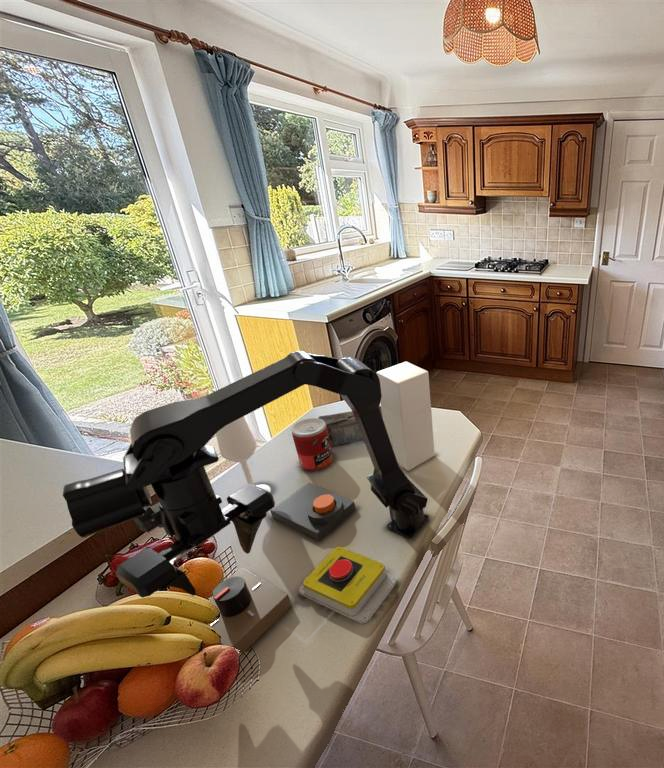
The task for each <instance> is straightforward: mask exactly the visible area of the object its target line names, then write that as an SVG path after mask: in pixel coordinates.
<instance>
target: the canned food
mask: <svg viewBox="0 0 664 768" xmlns="http://www.w3.org/2000/svg"><path fill="white" fill-rule="evenodd" d="M291 435H292V440H293V443H294V446H295V450H296V454H297V457H298V461H299V465H300V466H301V468H303V470H306V471H311V472H312V471H319V470H322V469H325V468H327V467H328V466H330V465H331V463H332V462H333V458H334V455H333V450H332V446H331V445H330V441H329V436H328V431H327V427H326V424H325V421H323V420H322V419H318V418H317V417H310V418H305V419H302V420H299V421H297V422H295V423H294V424H293V426H292V427H291Z"/></svg>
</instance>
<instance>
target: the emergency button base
mask: <svg viewBox="0 0 664 768" xmlns="http://www.w3.org/2000/svg"><path fill="white" fill-rule="evenodd" d="M325 494H329V495H332V496H333V497H334V502H335V507H334V509H333V510H331V511H330V512H327V513H324V514H318V513H316V512H315V509H314V506H313V502H314V500H315V499H316V498H317V497H319V496H321V495H325ZM355 510H356V503H355V501H353V500H351V499H350V498H349V499H348V498H346V497H344V496H341V495H339V494H338V493H335V492H332V491H330V490H328V489H325V488H323V487H322V486H318V485H316V484H315V483H314V484H313V483H311V482H307V483H306V484H305V485H303V486H301V487H300V488H298V490H296V491H294V492H293V493H292V494H291V495H289V496H287V497H286V498H285V499H284V500H282V501H281V502H280V503H278V504H277V505H275V506H274V507H273V508H272V509H271V510H269V512H270V514H271V517H272V518H273V519H274V520H276V521H278V522H281V523H282V524H284V525H286V526H288V527H290V528H292V529H295V530H296V531H298V532H301V533H303V534H304V535H306V536H309V537H310V538H312V539H314V540H316V541H319V542H320V541H321V540H322V539H323V538H324V537H326V536H327V535H328V534H329V533H330V532H332V531H333V530H334V529H335V528H336V527H337V526H338V525H339V524H340V523H342V522H343V521H344V520H345V519H346V518H347V517H349V515H351V514H352V513H353V512H354V511H355Z"/></svg>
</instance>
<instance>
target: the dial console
mask: <svg viewBox="0 0 664 768" xmlns="http://www.w3.org/2000/svg"><path fill="white" fill-rule="evenodd" d="M235 576H239V577H242V578H243V579H244V580H245V582H246V585H247V587H248V590H249V592H250V594H251V602H250V604H249V606H248V607H247V608H246V609H245V610H244V611H243V612H241V613H240V614H238V615H235V616H232V617H225V616H223V615H221V613H220V617H219V618H218V619H217V620H215V621H214V622H212V623H210V624H209V625H210V626H211V627H212V628H213V629H214V630H215V631H217V632H218V633H219V635H220V636H221V642H220V644H223V645H227V646H231V647H234V648H236V649H238V650H240V651H239V652H240V653H241V655H243V654H244V653H245V652H247V650H248V649H249V648H250V647H251V646H252V645H253V644H254V643H255V642H256V641H257V640H258V639H260V637H262V635H263V634H264V633H265V632H266V631H267V630H269V628H270V627H272V625H274V623H276V621H277V620H279V619H280V618H281V617H282V616H283V615H284V613H286V612H287V611H288V610H289V609H290V608H291V607H292V602H291V600H290V597H289V594H288V593H286V592H284V591H283V590H281V589H280V588H277V587H276V586H274V585H272V584H271V583H269V582H267V581H266V580H264V579H263V578H261V577H259V576H258V575H256V574H254V573H252V572H251V571H249V570H247V569H246V568H244V567H240V568H239V569H238V570H237V571H235V572H234V573H232V574H231V575H230V576H229V577H228V578H230V577H235ZM208 599H209V600H210V601H211V602H213V604H214V605H215V606H217V605H216V603H215V600H214V598H213V596H212V597H210V598H208ZM217 608H218V607H217ZM219 612H220V611H219Z"/></svg>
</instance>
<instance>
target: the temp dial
mask: <svg viewBox="0 0 664 768" xmlns="http://www.w3.org/2000/svg"><path fill="white" fill-rule="evenodd" d="M229 577H230V576H229ZM229 577H228V578H226V579H224V580H222V581H221V582H219V583H218V584H217V585H216V586H215V588H214V589H213V590H214V591H213V590H212V591H213V598H214V600H215V603H216V605H217V607H218V609H219V611H220V613H221V615H223V616H225V617H232V616H235V615H238V614H240V613H241V612H243V611H244V610H245V609H246V608H247V607H248V606H249V604H250V602H251V594H250V592H249V590H248V587H247V585H246V582H245V580H244V579H243V578H242V577H239V576H235V577H230V578H229Z"/></svg>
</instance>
